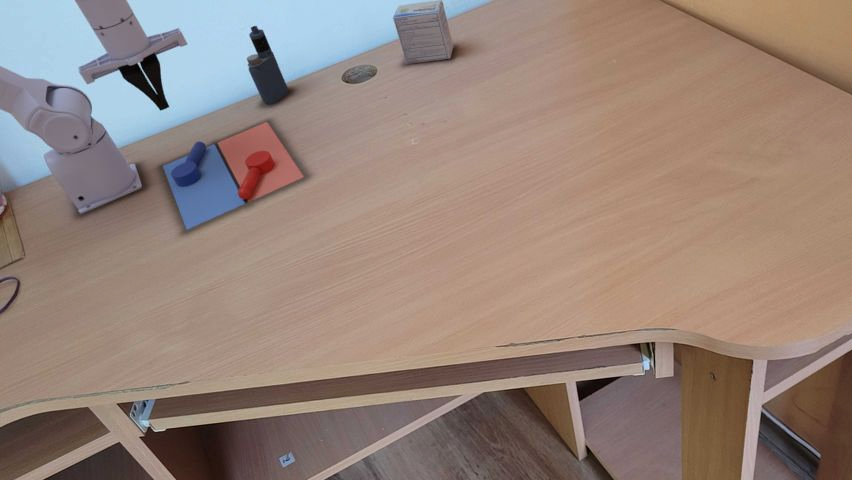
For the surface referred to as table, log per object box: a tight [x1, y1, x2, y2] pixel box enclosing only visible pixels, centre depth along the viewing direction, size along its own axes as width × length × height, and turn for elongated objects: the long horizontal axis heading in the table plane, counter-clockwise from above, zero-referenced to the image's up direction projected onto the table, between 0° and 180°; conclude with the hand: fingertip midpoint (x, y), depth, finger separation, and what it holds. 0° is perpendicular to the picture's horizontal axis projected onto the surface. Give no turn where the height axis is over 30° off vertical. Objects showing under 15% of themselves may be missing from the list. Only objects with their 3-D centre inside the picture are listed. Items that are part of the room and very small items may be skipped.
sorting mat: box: [162, 121, 305, 231], centre depth 107 cm, size 18×20×1 cm
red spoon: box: [238, 151, 275, 200], centre depth 103 cm, size 10×4×2 cm, turn 176°
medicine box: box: [392, 0, 454, 65], centre depth 120 cm, size 8×4×9 cm, turn 84°
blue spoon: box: [171, 140, 207, 187], centre depth 109 cm, size 10×4×2 cm, turn 1°
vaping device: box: [246, 25, 290, 105], centre depth 118 cm, size 3×5×12 cm, turn 150°
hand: (163, 106), depth 106 cm, fingers closed
